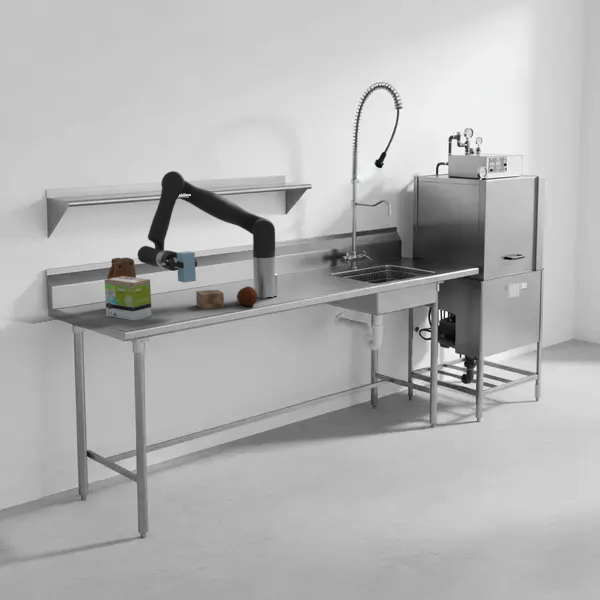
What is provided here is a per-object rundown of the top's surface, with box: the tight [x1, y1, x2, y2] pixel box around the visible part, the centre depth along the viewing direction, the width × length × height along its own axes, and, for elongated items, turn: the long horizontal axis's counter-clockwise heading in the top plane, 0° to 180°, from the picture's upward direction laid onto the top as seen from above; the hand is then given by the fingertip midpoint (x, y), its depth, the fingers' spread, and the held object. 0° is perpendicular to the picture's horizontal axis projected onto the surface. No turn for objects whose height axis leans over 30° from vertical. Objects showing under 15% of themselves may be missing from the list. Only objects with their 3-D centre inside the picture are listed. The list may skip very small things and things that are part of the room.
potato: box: [236, 285, 258, 307], centre depth 359 cm, size 8×12×8 cm, turn 34°
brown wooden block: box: [195, 289, 225, 310], centre depth 359 cm, size 9×9×6 cm
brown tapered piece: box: [106, 257, 137, 279], centre depth 357 cm, size 11×8×20 cm
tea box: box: [104, 276, 152, 321], centre depth 339 cm, size 15×10×15 cm
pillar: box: [176, 251, 197, 283], centre depth 340 cm, size 5×5×11 cm
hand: (189, 264), depth 338 cm, fingers closed on pillar, 5 cm apart
